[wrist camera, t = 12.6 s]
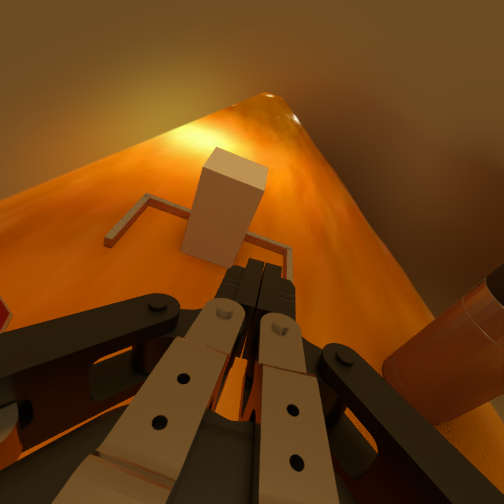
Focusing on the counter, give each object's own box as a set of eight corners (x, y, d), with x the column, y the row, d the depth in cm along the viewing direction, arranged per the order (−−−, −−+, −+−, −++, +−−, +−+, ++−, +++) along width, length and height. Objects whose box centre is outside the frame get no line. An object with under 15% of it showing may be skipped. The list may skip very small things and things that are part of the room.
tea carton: (237, 239, 50) (268, 167, 42) (230, 269, 43) (264, 190, 35) (194, 224, 49) (216, 146, 40) (180, 251, 42) (202, 166, 34)
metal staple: (288, 253, 52) (292, 247, 51) (288, 308, 41) (292, 302, 40) (145, 200, 49) (146, 192, 48) (103, 245, 38) (104, 236, 37)
